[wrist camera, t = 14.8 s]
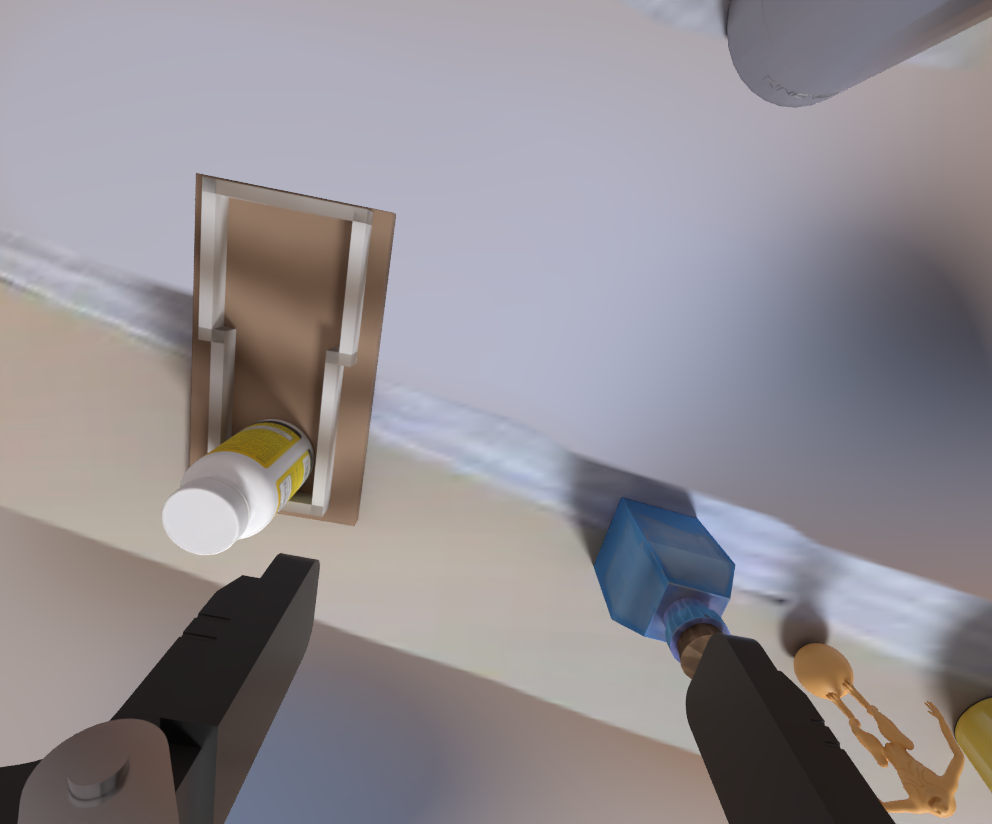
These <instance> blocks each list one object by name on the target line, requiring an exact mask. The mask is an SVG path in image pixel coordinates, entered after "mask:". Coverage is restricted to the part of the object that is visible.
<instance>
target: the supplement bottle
mask: <svg viewBox="0 0 992 824" xmlns="http://www.w3.org/2000/svg"><path fill="white" fill-rule="evenodd" d="M313 465H314V451H313V448H312V445H311V443H310V441H309V439H308V438H307V437H306V435H305V434H304V433H303V432H302V431H301V430H300V429H299V428H297V427H296V426H294V425H292V424H291V423H288V422H286V421H283V420H277V419H266V420H261V421H258V422H255V423H253V424H251V425H250V426H248V427H246V428H245V429H243V430H242V431H240V432H239V433H237V434H236V435H234V436H233V437H231V438H230V439H228V440H227V441H225V442H224V443H222V444H221V445H219V446H218V447H217V448H215V449H214V450H212V451H211V452H209V453H208V454H206V455H205V456H203V457H202V458H200V459H199V460H197V461H196V462H195V463H194V464H193V465H192V466H191V467H190V468H189V469H188V470H187V471H186V473H185V475H184V476H183V479H182V481H181V485H180V488H179V489H178V490H177V491H175V492H174V493H173V494H172V495H171V496H169V498H168V499H167V500H166V502H165V504H164V506H163V509H162V522H163V526H164V529H165V531H166V533H167V534H168V536H169V537H170V539H171V540H172V541H173V542H174V543H176V544H177V545H178V546H179V547H181V548H183V549H184V550H186V551H189V552H191V553H194V554H199V555H213V554H217V553H220V552H223V551H225V550H226V549H228V548H229V547H230V546H232V544H233V543H234V542H235V541H236V540H238V539H243V538H247V537H250V536H252V535H254V534H256V533H258V532H259V531H261V530H262V529H263V528H264V527H266V526H267V525H268V524H269V523H270V521H271V520H272V519H273V518H274V517H275V516H276V514H277V513H278V512H279V511H280V510H281V509H282V508H283V507H284V505H285V504H286V503H287V502H288V501H289V500H290V498H291V497H292V496H293V495H294V494H295V493H296V491H297V490H298V489H299V488H300V487H301V486H302V484H303V483H304V482H305V481H306V480H307V478H308V477H309V475H310V473H311V471H312V469H313Z"/></svg>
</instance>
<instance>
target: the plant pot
mask: <svg viewBox="0 0 992 824" xmlns="http://www.w3.org/2000/svg"><path fill="white" fill-rule="evenodd" d="M955 737H956V741H957V743H958V745H959V746H960V747H961V749H962V750H963V752H964V753H965V755H966V756H967V757H968V759H969V760H970V762H971V763H972V765H973V766H974V768H975V769H976V771H977V772H978V773H979V775H980V776H981V778H982V779H983V781H984V782H985V784H986V785H987V786H988V788H989V789H990V791H991V792H992V697H991V698H988V699H985V700H982V701H980V702H978V703H976V704H975V705H973V706H971V707H970V708H969V709H968V710H967V711H965V712H964V714H963V715H962V716H961V717H960V719H959V720H958V722H957V725H956V729H955Z"/></svg>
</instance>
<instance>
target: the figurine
mask: <svg viewBox="0 0 992 824" xmlns="http://www.w3.org/2000/svg"><path fill="white" fill-rule="evenodd" d="M794 671H795V674H796V676H797V678H798V680H799V682H800V683H801V684H802V686H803V687H804V688H805V689H806V690H808V691H809V692H810V693H812V694H813V695H815V696H817V697H820V698H823V699H829V700H830V701H832V702H834V703H835V704H836V705H837V706H838V707H839V709H840V710H841V711H842V712H843V713H844V714H845V715H846V716H847V717H848V718H849V719H850V720H849V725H850V726H851V729H852V732H853V734H854V735H855V736H856V737H857V739H858V740H859V742H860V743H861V744H862V745H863V746H864V747H865V748H866V749H867V750H868V751H869V752H870V753H871V754H872V755H873V757H874V758H875V760H876V761H877V763H878V764H879V765H880V766H881V767H884V768H886V767H888V761H890V762H891V763H892V765H893V766H894V767H895V769H896V770H897V773H898V775H899V777H900V779H901V782H902V784H903V787H904V789H905V790H906V792H907V793H908V795H909V798H908V799H906V800H898V801H890V802H886V803H884V802H882V801H881V800H879V801H880V802H881V804H882V805H883V807H884V808H885V809H886V811H887V812H891V813H904V812H910V813H915V814H922V813H931V814H933V815H936V816H938V817H943V818H946V817H950V816H952V815H953V814H954V812H955V810H956V802H955V798H954V794H955V792H956V791H957V788H958V780H959V777H960V775H961V772H962V769H963V766H964V761H965V759H964V755H963V753H962V751H961V750H960V748H959V746H958V745H957V743H956V741H955V739H954V737H953V735H952V733H951V730H950V728H949V727H948V725H947V724H946V722H945V720H944V718H943V716H942V714H941V713H940V712H939V710H938V709H937V708H936V707H935V706H934V705H933V704H932V703H931V702H928V701H927V702H928V704H929V705H930V706H931V707H932V708H931V707H930V706H929V705H928V704H926V703H925V704H926V705H927V706H928V707H929V709H930V710H931V711H932V712H933V713H932V712H930V711H928V712H929V713H930V714H932V715H933V716H935V717H937V718H938V720H939V724H940V727H941V730H942V732H943V734H944V736H945V738H946V740H947V741H948V744H949V746H950V748H951V750H952V752H953V753H954V757H953V759H952V760H951V762H950V764H949V766H948V768H947V770H946V772H945V774H944V775H943V776H938V775H936V774H935V773H934V772H933V771H931V770H930V769H928V768H927V767H925V766H923V764H921V763H920V762H918V761H917V760H915V759H914V758H913V757H912V756H911V755H910V754H908V752H907V751H906V749H908V750H912V749H913V748H914V745H913V743H912V741H911V740H909V739H908V738H907V737H906V736H905V735H904V734H902V733H901V732H900V731H899V730H898V728H897V727H896V726H895V725H894V723H893V722H892V721H891V720H889V719H888V718H887V717H886V716H884V715H883V714H882V713H880V712H879V711H878V709H877V708H876V707H875V706H873V705H870V704H869V703H868V702H867V701H866V700H865V699H864V698H863V697H862V695H861V694H860V693H859V692H858V691H857V690H856V689H855V688H854V686H853V671H852V668H851V666H850V664H849V662H848V661H847V659H846V658H845V657H844V656H843V655H842V654H841V653H840V652H839V651H838V650H836V649H834V648H833V647H831V646H828V645H825V644H821V643H811V644H808V645H805V646H803V647H802V648H800V649H799V651H798V652H797V653H796V655H795V658H794ZM848 692H849V693H850V694H851V695H852V696H853V697H854V698H855V699H856V700H857V701H858V702H859V703H860V704H861V705H862V706H864V707H865V708H866V709H867V712H868V713H869V714H870V715H871V716H874V718H875V720H876V722H877V724H878V728H879V730H880V732H881V734H882V735H883V736H884V737H885V738H886V739H887V740H889V741H890V742H891V743H886V744H885V747H883V746H882V744H881V743H880V741H879V740H878V739H877V738H876V737H875V736H874V735H872V734H870V733H867V732H865V731H863V730H862V729H860V726H861V725H860V722H859V721H858V720H857V719H856V718H855V717H854V715H853V714H852V712H851V711H850V710H849V709H848V708H847V707H846V705H845V704H844V703H843V702H842V701H841V699H840V698H841V697H843V696H845V695H846V694H847V693H848Z"/></svg>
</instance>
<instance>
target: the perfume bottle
mask: <svg viewBox="0 0 992 824" xmlns="http://www.w3.org/2000/svg"><path fill="white" fill-rule="evenodd" d="M594 569H595V572H596V575H597V578H598V581H599V584H600V587H601V590H602V593H603V596H604V599H605V601H606V604H607V607H608V610H609V613H610V616H611V619H612V620H614V621H616V622H618V623H619V624H621V625H623V626H625V627H627V628H629V629H631V630H633V631H635V632H637V633H638V634H640V635H642V636H644V637H648V638H652V639H656V640H660V641H664V642H667V644H668V646H669V648H670V650H671V652H672V654H673V656H674V658H675V659H676V660H677V661H678V662H680V663H681V667H682V669H683V671H684V673H685V674H686V675H687V676H688V677H689V678H690V679H692V678H693V676H694V673H695V671H696V669H697V666H698V664H699V661H700V659H701V657H702V654H703V652H704V650H705V647H706V645H707V643H708V640H709V638H710V637H711V636H712V635H713V634H715V633H722V634H728V635H731V634H730V632H729V630H728V628H727V626H726V625H725V623H724V622H723V620H722V619H721V616H722V614H723V612H724V610H725V608H726V606H727V604H728V602H729V600H730V597H731V590H732V583H733V577H734V570H735V564H734V562H733V561H732V560H731V559H730V557H729V556H728V555H727V554H726V553H725V551H724V550H723V549H722V548H721V547H720V545H719V544H718V543H717V542H716V540H715V539H714V538H713V537H712V536H711V534H710V533H709V532H708V531H707V530H706V528H705V527H704V526H703V525H702V523H701V522H700V521H699V520H698V519H697V518H694V517H690V516H687V515H683V514H680V513H676V512H673V511H669V510H665V509H662V508H658V507H655V506H651V505H648V504H644V503H640V502H637V501H633V500H630V499H626V498H622V497H621V500H620V502H619V505H618V507H617V510H616V512H615V514H614V517H613V519H612V522H611V524H610V527H609V529H608V532H607V534H606V537H605V539H604V542H603V544H602V546H601V549H600V551H599V554H598V556H597V559H596V561H595V564H594Z"/></svg>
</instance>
